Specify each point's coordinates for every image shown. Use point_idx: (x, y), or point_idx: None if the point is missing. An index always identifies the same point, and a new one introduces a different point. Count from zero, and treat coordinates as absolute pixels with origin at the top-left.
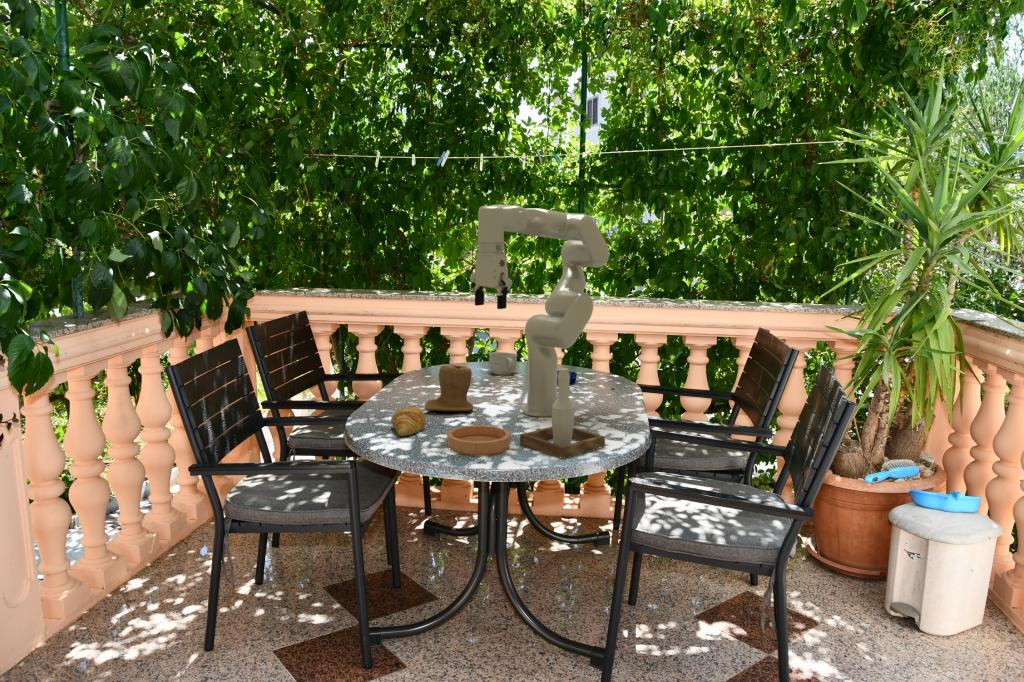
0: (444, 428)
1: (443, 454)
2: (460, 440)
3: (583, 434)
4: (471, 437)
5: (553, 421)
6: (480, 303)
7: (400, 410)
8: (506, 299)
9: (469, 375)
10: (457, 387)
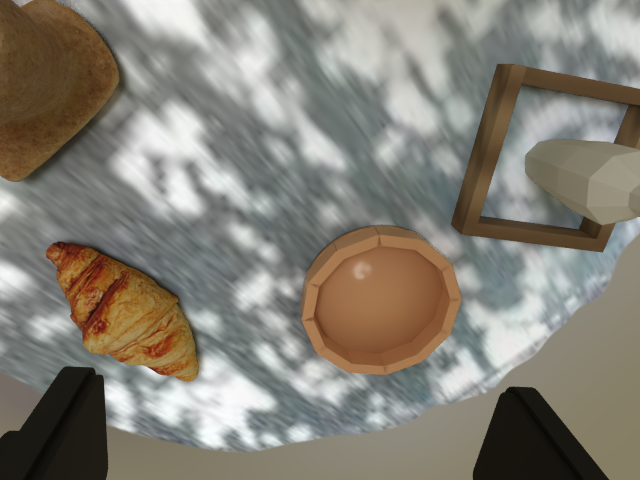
0: (201, 247)
1: (353, 379)
2: (382, 370)
3: (597, 97)
4: (337, 283)
5: (575, 211)
6: (97, 436)
7: (98, 347)
8: (604, 474)
9: (18, 31)
10: (39, 98)
